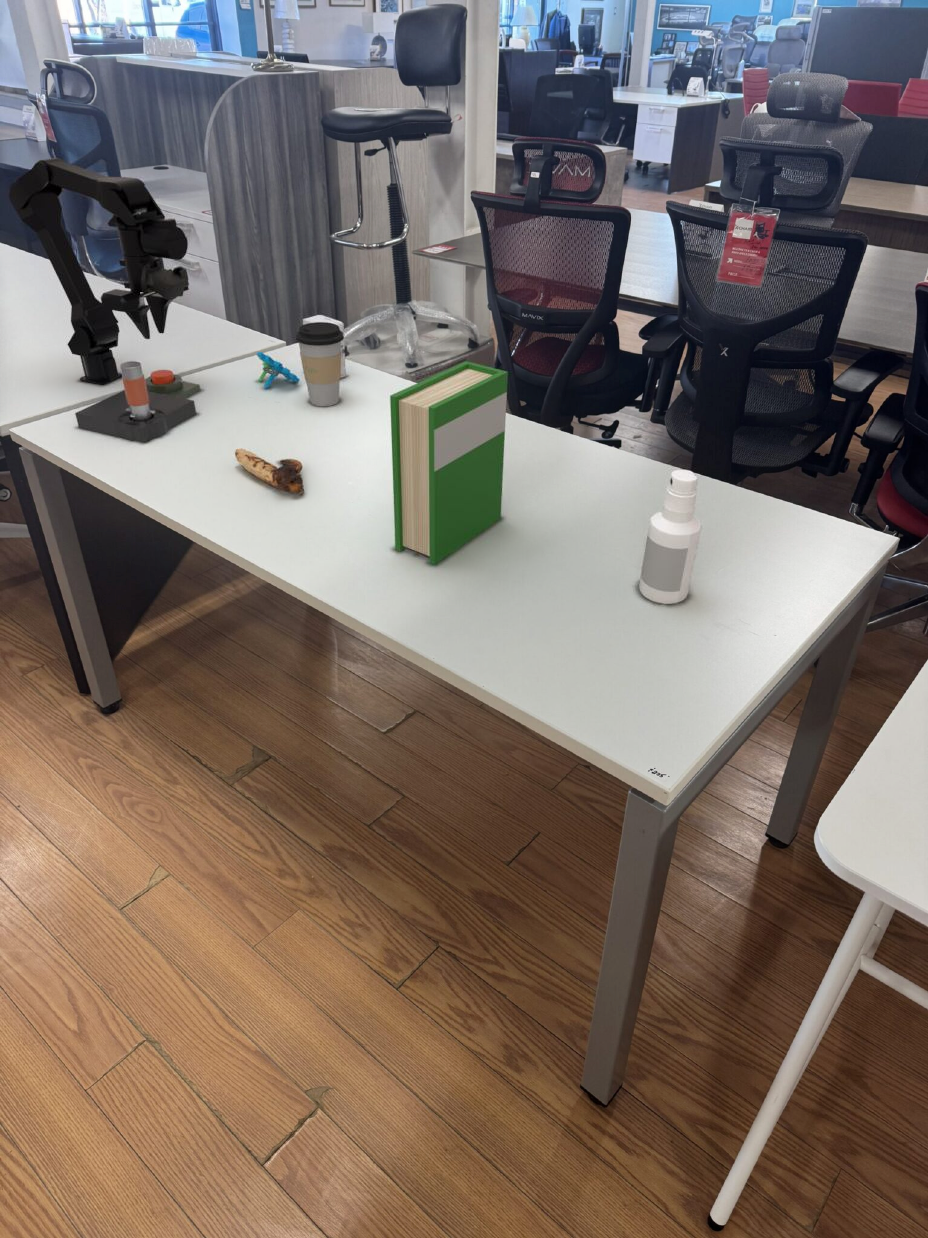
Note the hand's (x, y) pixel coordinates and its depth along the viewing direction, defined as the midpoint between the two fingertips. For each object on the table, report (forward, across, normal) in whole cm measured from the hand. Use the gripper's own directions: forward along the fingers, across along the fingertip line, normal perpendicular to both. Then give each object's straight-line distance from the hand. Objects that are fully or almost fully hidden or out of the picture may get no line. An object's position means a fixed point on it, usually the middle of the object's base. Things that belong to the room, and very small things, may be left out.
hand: (154, 335), depth 170 cm
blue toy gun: (+12, +15, -18) cm, 26 cm away
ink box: (+12, +25, -24) cm, 37 cm away
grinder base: (+12, -14, -5) cm, 19 cm away
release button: (+9, 0, 0) cm, 9 cm away
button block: (+12, 0, 0) cm, 12 cm away
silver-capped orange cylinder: (+12, -18, -10) cm, 23 cm away
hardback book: (+12, -28, -78) cm, 84 cm away
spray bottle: (+12, -30, -112) cm, 117 cm away
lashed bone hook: (+12, -23, -43) cm, 50 cm away
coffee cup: (+12, +11, -32) cm, 36 cm away
